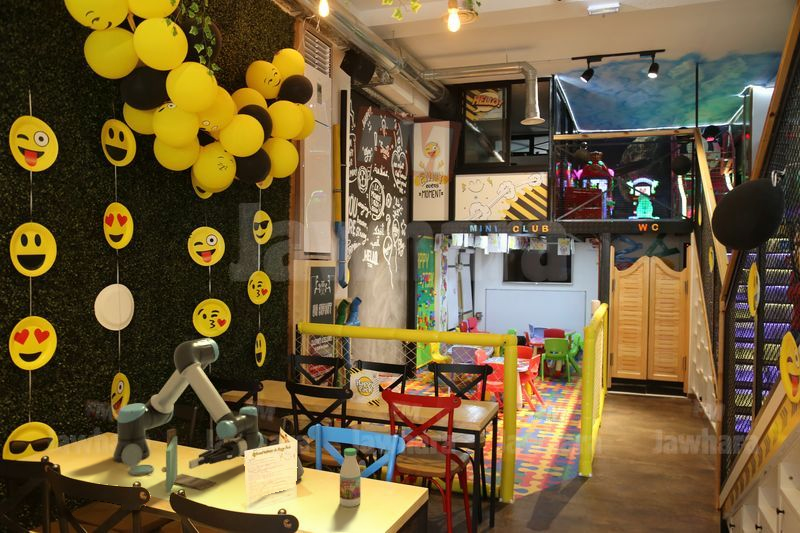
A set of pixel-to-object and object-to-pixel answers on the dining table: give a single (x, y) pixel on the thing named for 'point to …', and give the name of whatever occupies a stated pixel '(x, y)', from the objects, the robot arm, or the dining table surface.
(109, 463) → the dining table surface
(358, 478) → the milk bottle
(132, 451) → the pocket watch
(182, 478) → the door frame
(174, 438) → the door
